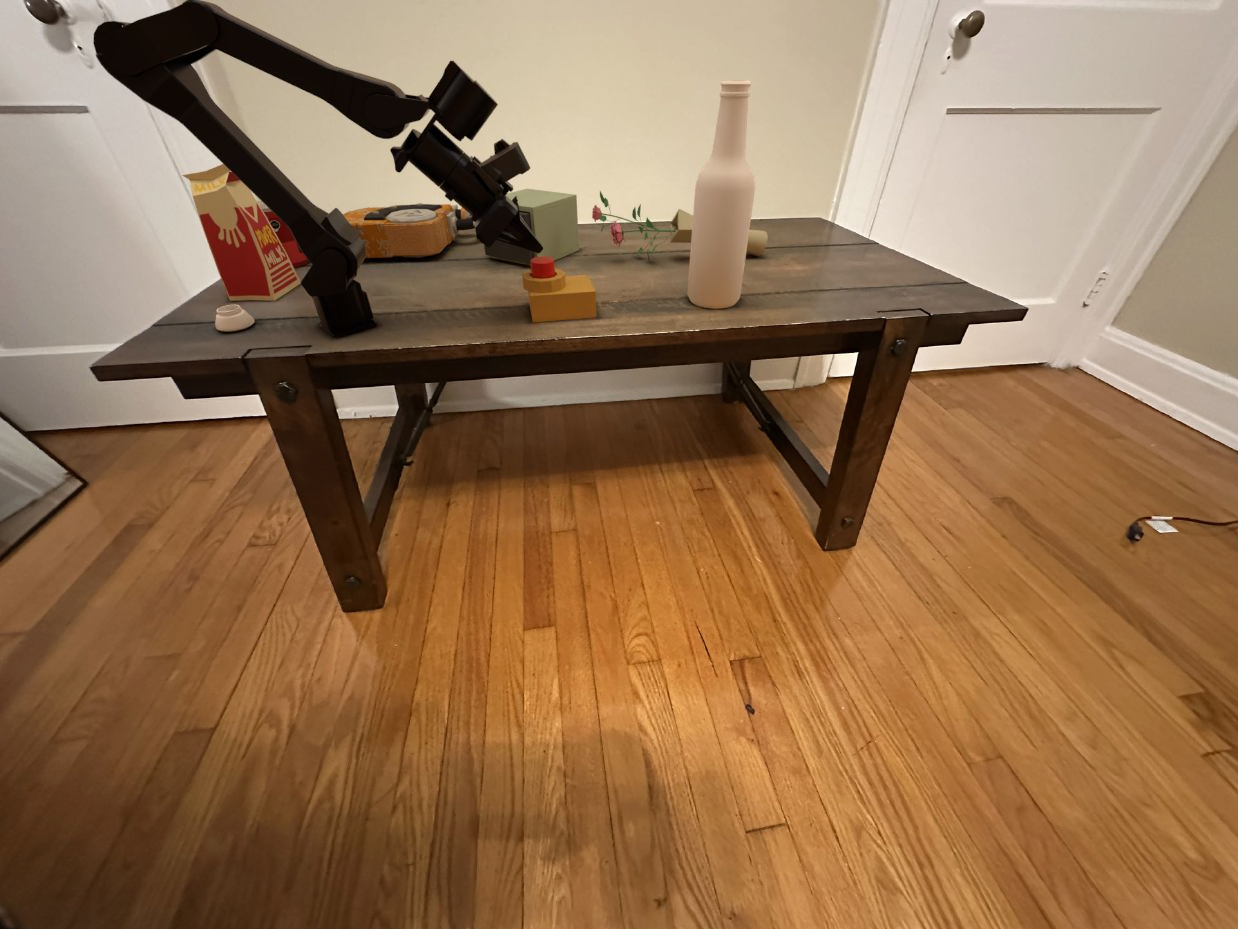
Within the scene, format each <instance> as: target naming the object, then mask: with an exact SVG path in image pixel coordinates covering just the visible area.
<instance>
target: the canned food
mask: <svg viewBox="0 0 1238 929" xmlns="http://www.w3.org/2000/svg"><path fill="white" fill-rule="evenodd" d="M257 202H258V204H259V206H260V207H261V209H262V210H263V212H264V214H265V215H266V217H267V219H268V221H269V222H270V224H271V226H272V228H273V230H274V231H275V233H276V235H277V237H278V239H279V240H280V242H281V244H282V246H283V248H284V250H285V251H286V253H287V255H288V257H289V259H290V261H291V263H292V265H293V267H294V269H295V268H299V267H303V266H305V265H307V264H309V263H310V261H309V260H308V259H307V258H306V256H305V255H304V254H303V253H302V251H301V250H300V248H299V246H298V244H297V242H296V240H295V238H294V237H293V235H292V233H291V231H290V229H289V228H288V227H287V225H286V224H285V223H284V222H283V221H282V220H281V219H280V218H279V217H278V216H277V215H275V214H274V213H273V212H272V211H271V210H270V209H269V208H268V207H267V206H266V205H265V204H264V203H263V202H262V201H261V200H259V201H258V200H257Z"/></svg>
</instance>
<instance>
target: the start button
mask: <svg viewBox="0 0 1238 929" xmlns="http://www.w3.org/2000/svg"><path fill="white" fill-rule="evenodd" d="M530 263H531V266H530V270H531V273H532V277H533V278H538V279H545V278H551V277H554V276H555V261H554V259H553V258H551V257H536V258H533V259H531V260H530Z"/></svg>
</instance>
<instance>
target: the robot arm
mask: <svg viewBox="0 0 1238 929" xmlns="http://www.w3.org/2000/svg"><path fill="white" fill-rule="evenodd" d="M92 42H93V48H94V50H95V57H96V59H97V61H98V62H99V64H100V66H101V67H102V68H103V69H104V70H105V71H106V72H107V73H108V74H109V75H110V76H111V77H112V78H113V79H114V80H116V81H117V82H119V83H120V84H121V85H122V86H124V87H125V88H127V89H128V90H129V91H130V92H132V93H133V94H134V95H136V97H138V98H140V99H141V100H142V101H144V102H145V103H147V104H148V105H150V106H151V107H154V108H155V109H157V110H159V111H161V112H162V113H164V114H166V115H167V116H169V117H171V118H173V119H174V120H176V121H177V122H179V123H180V124H181V125H182V126H183V127H185V129H187V130H188V131H189V132H190V133H191V134H192V135H193V136H194V138H196V139H197V140H198V141H199V142H200V143H201V144H202V145H203V146H204V147H205V148H206V149H207V150H208V151H209V152H210V153H211V154H212V155H214V156H215V158H216V159H217V160H219V162H221V164H224V165H225V166H226V167H227V168H228V169H229V170H230V171H231V172H232V173H233V174H234V175H235V176H236V177H237V178H238V179H239V180H240V181H241V182H242V183H244V184H245V185H246V186H247V187H248V188H249V189H250V191H251V192H252V194H253V195H255V196H256V197H257V198H258V199H259V201H262V202H263V203H264V204H265V205H266V206H267V207H268V208H269V209H270V210H271V211H272V212H273V213H274V214H275V215H277V216H278V217H279V218H280V219H281V220H282V221H283V222H284V223H285V224H286V225H287V227H288V228H289V229H290V231H291V233H292V235H293V237H294V238H295V240H296V242H297V244H298V246H299V248H300V250H301V251H302V253H303V254H304V255H305V256H306V258H307V259H308V260H309V263H310V264H311V266H310V268H309V270H307V272H306V273H305V275H304V276H303V278H302V280H300V282H301V283H300V285H301V286H302V288H303V289H304V290H305V292H306V293H307V294H308V296H309V297H311V298H312V301H313V305H314V307H315V310H316V312H317V315H318V318H319V322H317V326H318V327H319V328H320V329H322V330H323V331H325V332H326V333H327V334H329V335H330V336H332V337H333V338H339V337H342V336H346V335H349V334H353V333H357V332H361V331H364V330H366V329H371V328H373V327H376V326H377V321H375V320H374V313H373V310H372V307H371V303H370V300H369V296H368V293H367V291H365V290H363V288H362V285H361V282H359V281H358V280H355V278H356V277H357V276H358V271H359V269H360V267H361V266H362V265H363V263H364V261H365V259H366V258H365V255H366V253H365V245H364V242H363V241H362V239H361V238H360V237H359V236H358V235H359V233H360V230H358V229H356V228H355V227H353V226H352V225H351V224H350V223H349V222H348V221H347V220H346V218H345V217H344V215H343V214H344V213H342V211H341V210H339V208H337V207H335V208H333V209H332V210H331V211H329V212H327V211H325V210H324V209H322V208H321V207H318V205H315V204H314V203H313V202H312V201H311V200H310V199H309V198H308V197H307V196H306V195H305V194H304V193H303V192H302V191H301V190H300V189H299V187H297V186H296V184H294V182H292V180H290V179H289V177H288V176H286V175H285V173H284V172H283V171H281V169H280V168H279V167H278V166H277V165H276V164H275V163H274V162H273V161H272V160H271V159H270V158H269V157H268V156H267V155H266V154H265V153H264V152H263V151H262V149H260V148H259V146H258V145H257V144H256V143H254V142H253V140H252V139H251V138H249V137H248V135H247V134H246V133H245V132H244V131H243V130H242V129H241V128H240V127H239V126H238V125H237V124H236V123H235V122H234V121H233V120H232V119H231V118H230V116H228V115H227V113H225V112H224V110H222V109H221V107H220V106H219V105H217V103H216V102H215V101H214V100H213V98H212V97H211V94H209V91H208V90H207V88H206V85H205V84H204V83H203V81H202V79H201V76H200V75H199V73H198V72H197V70H196V69H195V67H194V66H193V64H195V63H197V62H199V61H202V60H203V59H205V58H206V57H207V56H209V55H211V54H213V53H214V52H215V51H218V52H221V53H223V54H225V55H228V56H229V57H231V58H234V59H236V60H237V61H240V62H242V63H245V64H246V65H248V66H251V67H253V68H256V69H257V70H259V71H261V72H264V73H265V74H268V75H270V76H272V77H274V78H276V79H279V80H280V81H283V82H285V83H287V84H289V85H291V86H293V87H295V88H297V89H299V90H302V91H304V92H306V93H308V94H310V95H312V96H315V97H317V98H319V99H321V100H322V101H324V102H325V103H327V104H329V105H330V106H332V107H333V108H334V109H335V110H337V111H338V112H339V113H340V114H342V115H343V116H344V117H345V118H347V119H348V120H350V121H351V122H353V123H354V124H355V125H357V126H358V127H360V128H361V129H363V130H364V131H366V132H368V133H370V134H371V135H372V136H374V137H376V138H379V139H383V140H390V139H393V138H396V137H398V136H400V135H401V134H402V133H404V132H405V131H406V130H407V129H408V127H409V126H410V124H412V123H416V122H419V121H422V120H423V119H424V118H425V117H426V116H427V115H429V113H430V111H432V113H434V114H433V116H432V117H431V118H430V120H429V121H428V123H427V124H426V126H425V127H424V129H423V130H422V131H421V132H420V131H419V130H417V129H415V128H412V129H411V130H410V132H409V134H408V135H407V136H406V137H405V139H404V140H403V142H402V144H401V145H400V146H395V145H393V146H392V147H391V148H390V149H389V151H390V153H391V155H392V158H393V162H394V170H395V172H396V173H402V172H403V170H404V169H405V168H406V166H407V164H408V163H410V164H411V165H412V166H414V167H415V168H416V169H417V170H418V171H419V172H420V173H422V174H423V176H425V177H426V178H428V179H429V181H430V182H432V183H433V184H434V185H436V186H437V187H438V188H439V189H440V190H441V191H442V192H443V193H444V197H445V198H446V199H447V200H449V202H452V201H454V202H455V203H456V204H457V205H458V206H460V207H461V208H463V209H465V210H466V211H467V212H468V213H469V214H470V215H471V219H472V220H473V221H474V222H475V223H476V225H475V228H474V229H475V235H476V240H478V241H479V242H480V243H481V244H482V245H483V246H484V245H485V246H486V247H488V248H489V247H491V246H492V244H493V243H494V242H495V241H496V240H497V241H501V242H504V243H508V244H511V245H514V246H517V247H520V248H523V249H527V250H530V251H533V252H536V253H540V252H541V251H542V250H543V246H542V244H541V243H540V242H539V240H538V239H537V238H536V236H535V235H534V233H533V232H532V231H531V229H530V228H529V227H528V225H527V224H526V223H525V221H524V220H523V218H522V217H521V216H520V212H519V204H518V199H517V196H515V197H514V198H513V199H512V201H511V200H510V199H509V198H508V197H507V196H506V194H508V193H512V192H513V190H514V186H513V184H511V182H509V181H510V180H512V179H513V178H515V177H517V176H519V175H524V174H525V173H527V172H528V171H529V170H531V166H530V163H529V161H528V159H527V158H526V155H525V154H524V152H523V150H522V148H521V145H520V143H519V142H518V141H514V142H512V143H511V144H510V143H509V142H508V141H506V140H505V139H503V138H501V139H500V140H498V141H496V142H494V143H493V150H494V151H493V152H494V154H493V155H490V156H489V157H488V158H486V159H485V160H483V161H481V160H479V158H478V157H477V156H475V155H474V156H472V155H470V156H469V155H468V154H467V153H466V151H464V150H463V149H462V148H460V146H459V145H458V144H456V142H454V140H452V138H450V137H449V136H448V135H447V134H445V132H443V130H441V129H440V128H439V127H438V126H437V125H436V124H435V123H436V122H437V123H438V124H439V125H440V126H441V127H442V128H443V129H444V130H445V131H446V132H448V133H449V134H450V135H451V136H452V137H453V138H454V139H455V140H456V141H458V142H462V140H464V139H465V138H467V139H468V140H469V141H471V142H473V141H474V139H475V137H476V136H477V135H478V133H479V132H480V130H481V129H482V128H483V127H484V125H485V124H486V122H487V121H488V119H489V118H490V117H491V115H492V114H493V112H494V111H495V110H496V109H497V107H498V105H499V104H498V103H497V101H496V100H495V99H494V98H493V97H492V96H491V95H490V94H489V92H488V91H487V90H486V89H485V88H484V87H483V86H482V85H481V84H480V83H479V82H478V81H477V80H476V79H475V80H474V79H473V78H472V77H471V76H470V75H469V74H468V73H467V72H466V71H465V70H464V69H462V68H461V67H460V66H459V65H458V63H457V62H455V60H450V61H449V62H448V63H447V65H446V67H445V68H444V71H443V73H442V75H441V78H440V79H439V81H438V82H437V84H436V85H435V87H434V88H433V89H432V91H431V92H430V95H429V96H428V97H426V96H424V95H423V94H419V95H413V94H407V93H405V92H404V91H403V90H402V89H401V88H400V87H399V86H397V85H396V84H395V83H392V82H390V81H388V80H383V79H381V78H377V77H374V76H371V75H367V74H364V73H360V72H356V71H354V70H349V69H346V68H342V67H340V66H336V65H334V64H331V63H330V62H327V61H326V60H323V59H321V58H320V57H317V56H315V55H313V54H311V53H309V52H307V51H305V50H303V49H301V48H299V47H297V46H295V45H293V44H290V43H289V42H287V41H285V40H283V39H282V38H279V37H277V36H275V35H273V34H271V33H269V32H267V31H265V30H262V29H261V28H259V27H257V26H255V25H253V24H251V23H249V22H247V21H244V20H242V19H240V18H239V17H237V16H235V15H233V14H231V13H229V12H227V11H226V10H225V9H223V8H222V7H221V6H220V5H218V4H216V3H213V2H210V1H205V0H185V1H183V2H182V3H181V4H179V5H177V6H175V7H173V8H170V9H168V10H165V11H162V12H158V13H155V14H152V15H149V16H146V17H142V18H139V19H136V20H134V21H133V22H128V21H127V22H126V21H117V20H110V21H104V22H102V23H101V24H99V25H97V27H96V28H95V30H94V32H93V41H92Z"/></svg>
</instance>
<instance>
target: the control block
mask: <svg viewBox="0 0 1238 929" xmlns="http://www.w3.org/2000/svg"><path fill="white" fill-rule="evenodd" d="M521 277H522V287H523V290H525V291H526V292H528V302H529V308H530V314H531V320H532V323H543V322H555V321H567V320H581V319H594V318H597V316H598V315H597V291H596V289H595V287H594V285H593V283H592V280H591V278H590V276H589V274H582V275H581V274H580V275H579V274H578V275H566V274H565V271H564V270H562V269H559V268H555V276H554V277H551V278H545V279H538V278H533V277H532V273H531V269H528V270H526V271H524V272H523V273H522V274H521Z"/></svg>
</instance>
